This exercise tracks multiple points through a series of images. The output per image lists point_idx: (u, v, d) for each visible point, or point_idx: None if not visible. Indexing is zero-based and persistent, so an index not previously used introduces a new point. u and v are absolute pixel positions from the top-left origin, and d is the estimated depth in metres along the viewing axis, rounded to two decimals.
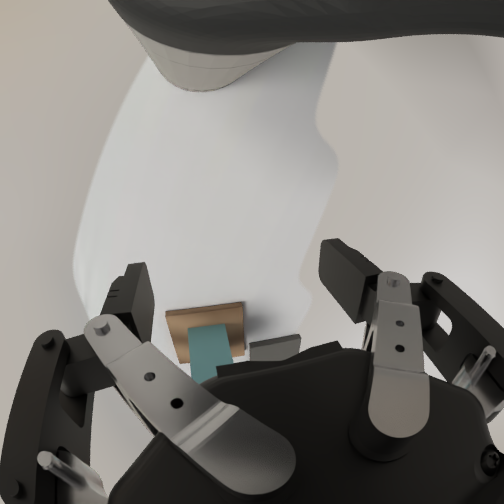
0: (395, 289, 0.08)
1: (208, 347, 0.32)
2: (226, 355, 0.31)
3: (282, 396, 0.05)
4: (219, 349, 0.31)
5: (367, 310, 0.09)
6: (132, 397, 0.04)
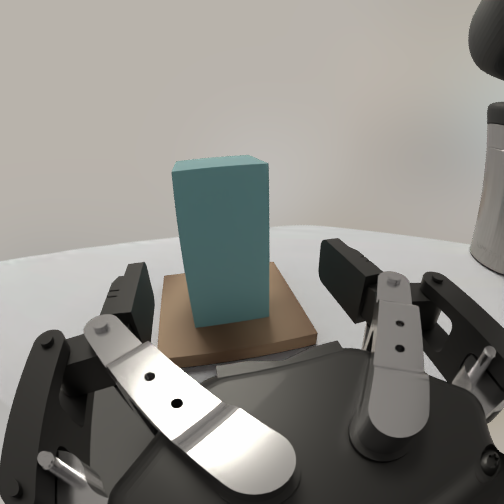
0: (395, 289, 0.08)
1: None
2: None
3: (282, 396, 0.05)
4: None
5: (367, 310, 0.09)
6: (132, 397, 0.04)
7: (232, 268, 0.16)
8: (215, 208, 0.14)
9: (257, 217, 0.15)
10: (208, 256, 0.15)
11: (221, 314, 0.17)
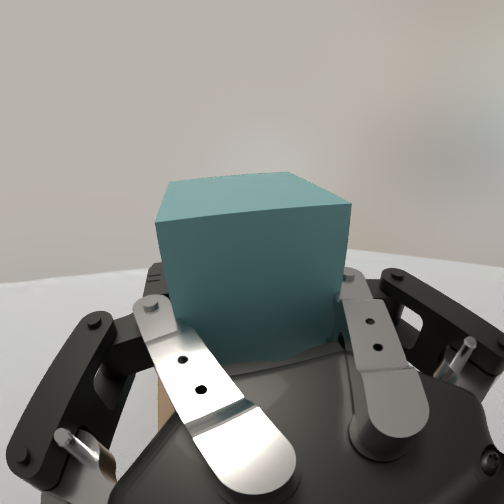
0: (346, 284, 0.08)
1: None
2: None
3: (282, 396, 0.05)
4: None
5: None
6: (160, 375, 0.05)
7: None
8: (247, 290, 0.07)
9: (321, 299, 0.08)
10: (233, 362, 0.08)
11: None
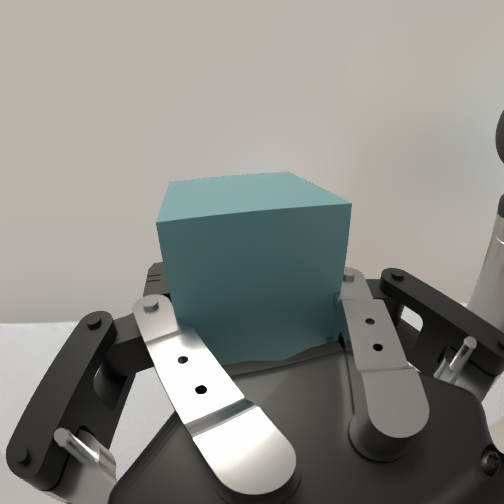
0: (346, 285, 0.08)
1: None
2: None
3: (282, 396, 0.05)
4: None
5: None
6: (160, 376, 0.05)
7: None
8: (248, 290, 0.07)
9: (321, 298, 0.08)
10: (234, 361, 0.08)
11: None
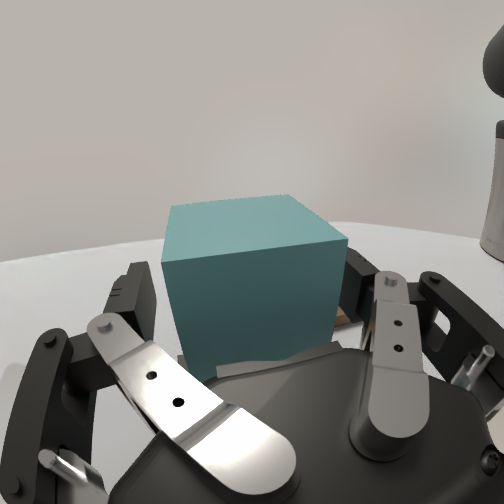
0: (392, 288, 0.08)
1: None
2: None
3: (282, 396, 0.05)
4: None
5: (364, 309, 0.09)
6: (134, 395, 0.04)
7: None
8: (248, 320, 0.08)
9: (317, 324, 0.08)
10: None
11: None
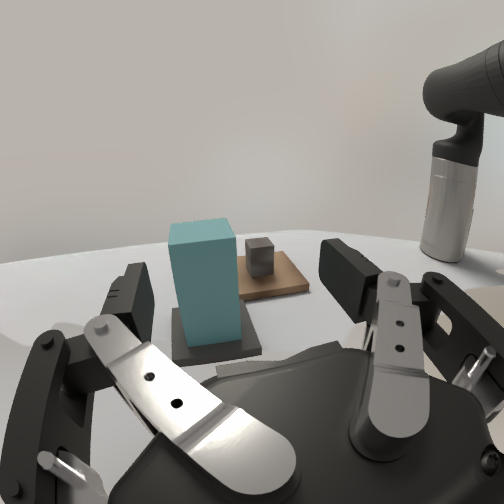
0: (395, 289, 0.08)
1: None
2: None
3: (282, 396, 0.05)
4: None
5: (367, 310, 0.09)
6: (132, 397, 0.04)
7: (213, 307, 0.22)
8: (199, 268, 0.20)
9: (229, 273, 0.21)
10: (196, 300, 0.21)
11: (206, 337, 0.23)
